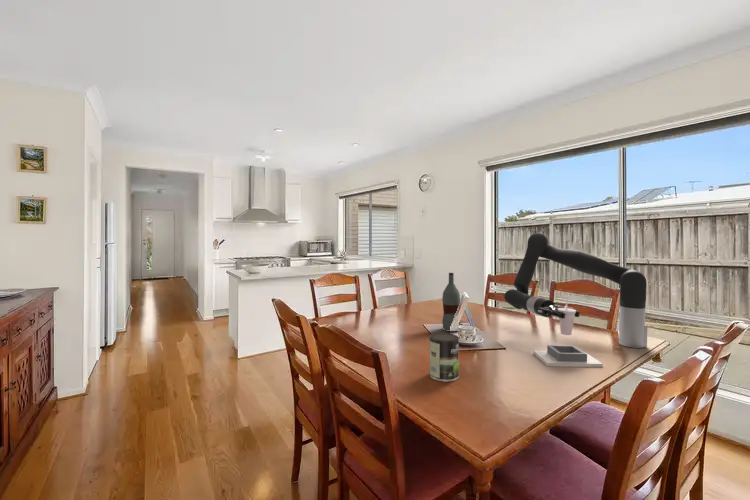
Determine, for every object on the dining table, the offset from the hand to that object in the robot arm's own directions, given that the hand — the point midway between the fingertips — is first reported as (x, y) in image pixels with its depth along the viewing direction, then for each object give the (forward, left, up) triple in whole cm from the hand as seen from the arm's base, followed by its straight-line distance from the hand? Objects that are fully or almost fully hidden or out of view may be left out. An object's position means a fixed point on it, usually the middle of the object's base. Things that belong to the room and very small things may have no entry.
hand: (571, 315), depth 136 cm
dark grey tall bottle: (+40, -44, -19) cm, 62 cm away
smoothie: (+1, -2, -8) cm, 9 cm away
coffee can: (+51, +16, -19) cm, 56 cm away
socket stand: (+1, -2, -18) cm, 19 cm away
